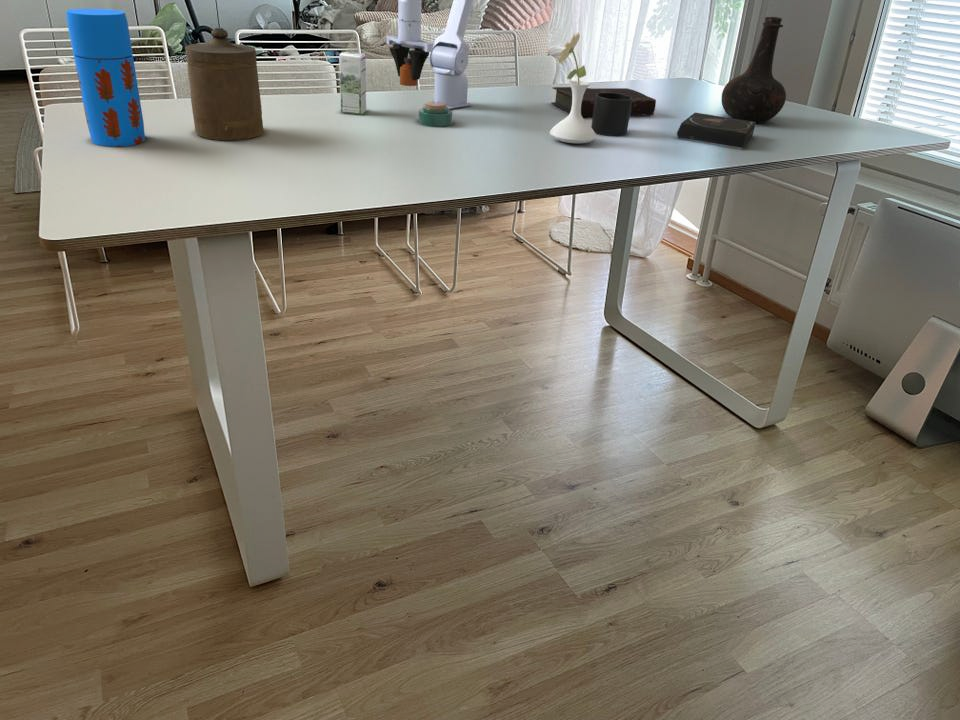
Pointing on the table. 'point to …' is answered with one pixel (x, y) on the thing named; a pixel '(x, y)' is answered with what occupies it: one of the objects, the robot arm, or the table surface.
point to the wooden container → (224, 89)
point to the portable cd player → (716, 130)
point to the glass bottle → (757, 82)
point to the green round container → (435, 114)
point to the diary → (639, 100)
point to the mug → (611, 114)
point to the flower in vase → (574, 105)
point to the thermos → (106, 76)
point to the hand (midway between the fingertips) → (408, 77)
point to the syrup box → (352, 82)
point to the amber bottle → (407, 74)
